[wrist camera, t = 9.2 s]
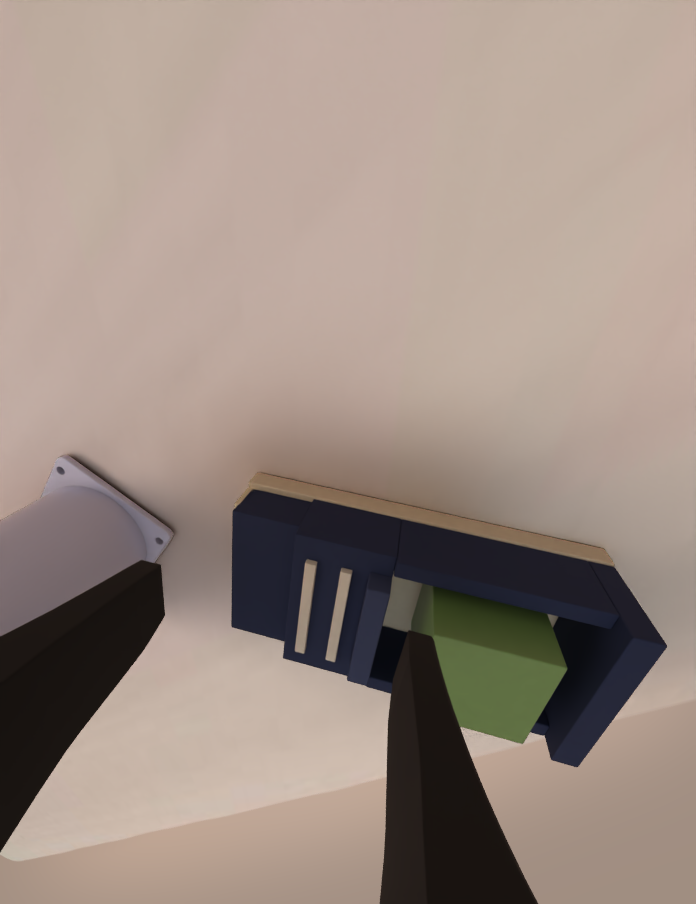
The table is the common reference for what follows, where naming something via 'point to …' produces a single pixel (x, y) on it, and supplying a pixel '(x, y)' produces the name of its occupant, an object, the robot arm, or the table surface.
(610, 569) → the navy slotted organizer
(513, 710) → the green cube
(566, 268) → the table surface
